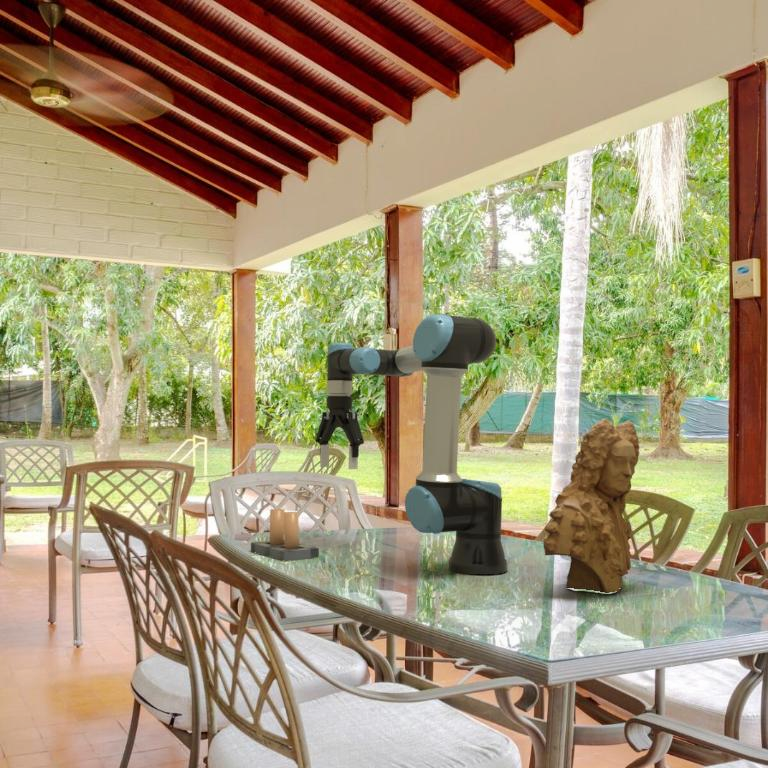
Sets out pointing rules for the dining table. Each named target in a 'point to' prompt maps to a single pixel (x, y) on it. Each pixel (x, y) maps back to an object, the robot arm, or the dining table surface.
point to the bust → (596, 509)
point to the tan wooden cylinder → (291, 530)
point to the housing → (285, 551)
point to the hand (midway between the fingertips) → (338, 468)
